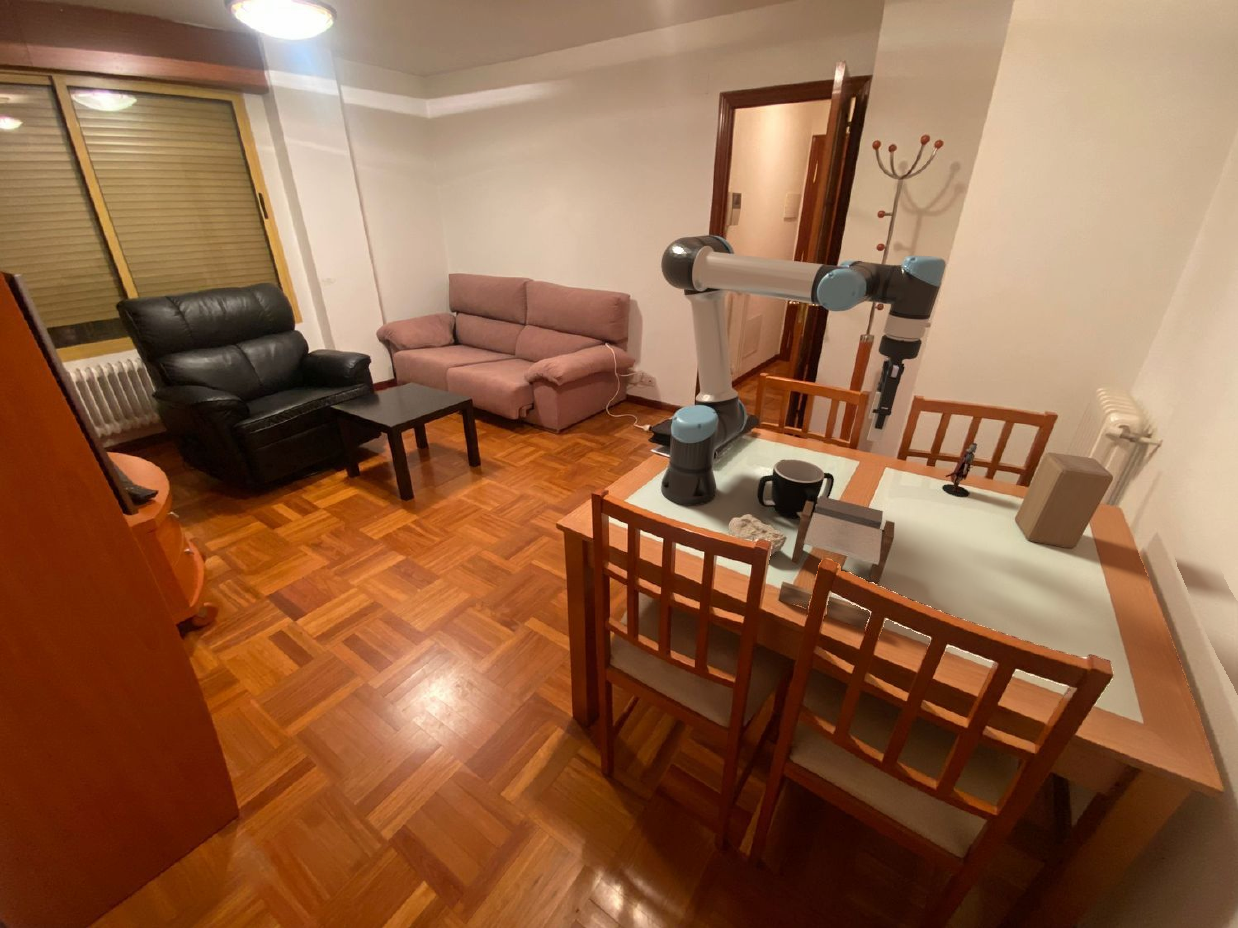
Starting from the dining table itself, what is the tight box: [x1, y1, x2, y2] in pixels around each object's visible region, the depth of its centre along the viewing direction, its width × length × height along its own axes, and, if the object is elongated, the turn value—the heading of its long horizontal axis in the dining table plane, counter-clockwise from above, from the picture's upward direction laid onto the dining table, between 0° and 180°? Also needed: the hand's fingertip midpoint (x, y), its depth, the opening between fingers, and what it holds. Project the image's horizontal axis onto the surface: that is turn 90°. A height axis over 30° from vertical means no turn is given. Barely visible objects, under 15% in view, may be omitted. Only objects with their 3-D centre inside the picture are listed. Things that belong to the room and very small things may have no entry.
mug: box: [756, 459, 835, 521], centre depth 128 cm, size 16×16×12 cm
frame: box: [777, 501, 895, 630], centre depth 102 cm, size 18×20×13 cm
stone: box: [728, 513, 787, 555], centre depth 115 cm, size 8×12×10 cm
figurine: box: [941, 442, 978, 498], centre depth 137 cm, size 7×7×15 cm
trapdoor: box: [804, 495, 884, 565], centre depth 104 cm, size 13×19×3 cm
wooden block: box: [1014, 452, 1114, 549], centre depth 118 cm, size 10×10×20 cm
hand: (874, 429), depth 114 cm, fingers open, 13 cm apart
